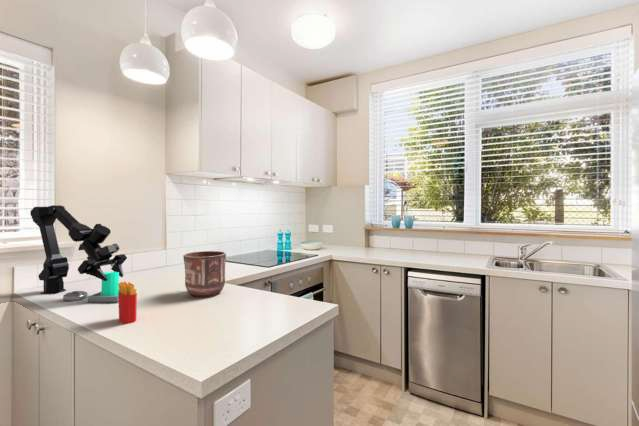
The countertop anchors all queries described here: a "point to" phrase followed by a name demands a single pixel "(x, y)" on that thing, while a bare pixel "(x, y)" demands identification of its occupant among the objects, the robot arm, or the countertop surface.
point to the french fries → (127, 302)
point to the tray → (102, 298)
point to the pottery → (204, 273)
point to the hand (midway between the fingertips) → (114, 278)
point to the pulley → (75, 296)
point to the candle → (110, 284)
